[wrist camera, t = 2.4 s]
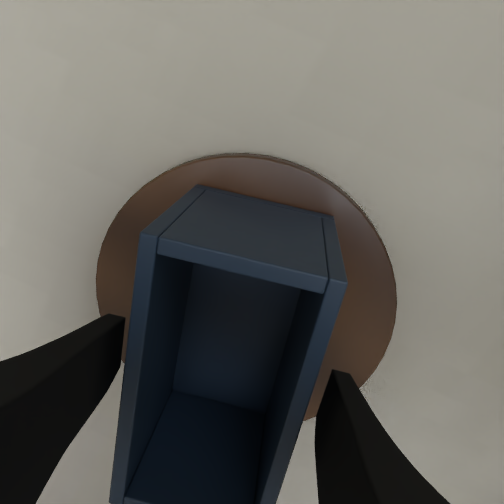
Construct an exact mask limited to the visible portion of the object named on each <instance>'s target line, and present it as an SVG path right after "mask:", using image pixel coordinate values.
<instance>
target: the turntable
mask: <svg viewBox="0 0 504 504" xmlns="http://www.w3.org/2000/svg"><path fill="white" fill-rule="evenodd" d="M196 184H199V185H203V186H208V187H212V188H216V189H220V190H224V191H229V192H233V193H237V194H241V195H246V196H250V197H254V198H258V199H263V200H267V201H271V202H275V203H280V204H284V205H288V206H292V207H297V208H301V209H305V210H309V211H313V212H318V213H322V214H326V215H330V216H334V220H335V225H336V230H337V234H338V239H339V243H340V248H341V253H342V257H343V262H344V267H345V271H346V276H347V280H348V286H347V289H346V292H345V295H344V298H343V301H342V304H341V307H340V310H339V313H338V316H337V319H336V322H335V325H334V328H333V331H332V334H331V337H330V340H329V343H328V346H327V350H326V353H325V356H324V359H323V362H322V365H321V368H320V371H319V374H318V377H317V380H316V383H315V386H314V389H313V392H312V395H311V398H310V401H309V404H308V407H307V410H306V413H305V416H304V419H303V421H305V420H308V419H310V418H313V417H315V416H316V415H317V412H318V409H319V406H320V403H321V400H322V397H323V394H324V391H325V388H326V386H327V383H328V380H329V377H330V374H331V371H332V369H334V370H338V371H342V372H346V373H350V374H351V376H352V378H353V379H354V381H355V383H356V384H357V386H358V388H360V387H361V386H362V385H363V384H364V383H365V382H366V381H367V379H368V378H369V377H370V376H371V375H372V373H373V372H374V371H375V369H376V368H377V366H378V364H379V363H380V361H381V359H382V358H383V356H384V354H385V351H386V349H387V347H388V344H389V342H390V340H391V336H392V332H393V328H394V324H395V318H396V308H397V295H396V283H395V278H394V273H393V268H392V265H391V262H390V259H389V256H388V254H387V251H386V248H385V246H384V244H383V242H382V240H381V238H380V237H379V235H378V233H377V231H376V229H375V227H374V226H373V224H372V223H371V221H370V220H369V219H368V217H367V216H366V215H365V213H364V212H363V211H362V209H361V208H360V207H359V206H358V205H357V204H356V203H355V202H354V201H353V200H352V199H351V198H350V197H349V196H348V195H347V194H346V193H345V192H344V191H342V190H341V189H340V188H338V187H337V186H336V185H334V184H333V183H332V182H331V181H329V180H328V179H326V178H324V177H322V176H321V175H319V174H317V173H315V172H314V171H312V170H310V169H308V168H305V167H303V166H300V165H298V164H295V163H293V162H290V161H287V160H283V159H279V158H275V157H271V156H266V155H257V154H249V153H233V154H220V155H213V156H207V157H202V158H199V159H196V160H192V161H189V162H186V163H183V164H181V165H179V166H177V167H174V168H172V169H170V170H168V171H166V172H164V173H162V174H161V175H159V176H158V177H156V178H155V179H153V180H152V181H150V182H149V183H147V184H145V185H144V186H143V187H142V188H141V189H140V190H139V191H137V192H136V193H135V194H134V195H133V196H132V197H131V198H130V199H129V200H128V201H127V202H126V204H125V205H124V206H123V207H122V208H121V210H120V211H119V212H118V214H117V215H116V217H115V219H114V220H113V222H112V223H111V225H110V227H109V229H108V231H107V234H106V236H105V238H104V241H103V243H102V246H101V250H100V254H99V258H98V264H97V274H96V292H97V301H98V306H99V312H100V316H101V317H102V316H104V315H106V314H108V313H110V314H114V315H118V316H122V317H126V320H125V329H124V338H123V348H122V357H121V360H122V361H123V362H124V364H125V357H126V348H127V339H128V330H129V322H130V313H131V304H132V295H133V286H134V278H135V269H136V260H137V251H138V243H139V234H140V232H141V231H142V230H143V229H145V228H146V227H147V226H148V225H149V224H151V223H152V222H153V221H154V220H155V219H156V218H158V217H159V216H160V215H161V214H162V213H163V212H165V211H166V210H167V209H168V208H169V207H171V206H172V205H173V204H174V203H175V202H176V201H178V200H179V199H180V198H181V197H182V196H183V195H185V194H186V193H187V192H188V191H189V190H191V189H192V188H193V187H194V186H195V185H196Z"/></svg>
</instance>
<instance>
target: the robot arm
mask: <svg viewBox="0 0 504 504" xmlns="http://www.w3.org/2000/svg"><path fill="white" fill-rule="evenodd" d="M125 320H126V317H122V316H118V315H114V314H110V313H108V314H106V315H104V316H102V317H100V318H98V319H96V320H94V321H92V322H90V323H89V324H87V325H85V326H83V327H81V328H79V329H77V330H75V331H73V332H71V333H69V334H67V335H65V336H63V337H61V338H58V339H56V340H54V341H52V342H49V343H47V344H45V345H43V346H40V347H38V348H36V349H34V350H31V351H29V352H26V353H23V354H21V355H18V356H15V357H12V358H9V359H6V360H3V361H0V504H36V502H37V500H38V498H39V496H40V495H41V493H42V491H43V489H44V487H45V485H46V484H47V482H48V480H49V478H50V476H51V475H52V473H53V471H54V469H55V468H56V466H57V464H58V462H59V461H60V459H61V457H62V456H63V454H64V453H65V451H66V449H67V448H68V446H69V445H70V443H71V442H72V441H73V439H74V438H75V436H76V435H77V434H78V432H79V431H80V429H81V428H82V426H83V425H84V424H85V422H86V421H87V419H88V418H89V417H90V415H91V414H92V412H93V411H94V410H95V408H96V407H97V405H98V404H99V402H100V401H101V400H102V398H103V397H104V395H105V394H106V392H107V391H108V389H109V387H110V385H111V383H112V382H113V380H114V378H115V376H116V374H117V372H118V370H119V368H120V366H121V357H122V348H123V338H124V329H125ZM315 458H316V473H317V487H318V500H319V504H450V503H449V502H448V501H447V500H446V499H445V498H444V497H443V496H442V495H440V494H439V493H438V492H437V491H436V490H435V488H434V487H433V486H432V485H431V484H430V483H429V482H428V481H427V480H426V479H425V478H424V477H423V476H422V475H421V474H420V473H419V472H418V471H417V470H416V469H415V467H414V466H413V465H412V464H411V463H410V462H409V460H408V459H407V458H406V457H405V456H404V454H403V453H402V452H401V451H400V450H399V448H398V447H397V446H396V444H395V443H394V442H393V440H392V439H391V438H390V436H389V435H388V434H387V432H386V431H385V429H384V428H383V426H382V425H381V424H380V422H379V421H378V419H377V418H376V416H375V414H374V413H373V411H372V410H371V408H370V406H369V405H368V403H367V401H366V400H365V398H364V396H363V395H362V393H361V391H360V390H359V388H358V386H357V384H356V383H355V381H354V379H353V378H352V376H351V374H350V373H346V372H342V371H338V370H334V369H332V371H331V374H330V377H329V380H328V383H327V386H326V388H325V391H324V394H323V397H322V400H321V403H320V406H319V409H318V412H317V415H316V426H315Z"/></svg>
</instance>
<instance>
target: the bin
mask: <svg viewBox="0 0 504 504" xmlns="http://www.w3.org/2000/svg"><path fill="white" fill-rule="evenodd" d="M347 286H348V280H347V276H346V271H345V267H344V262H343V257H342V253H341V248H340V243H339V239H338V234H337V230H336V225H335V220H334V216H330V215H326V214H322V213H318V212H313V211H309V210H305V209H301V208H297V207H292V206H288V205H284V204H280V203H275V202H271V201H267V200H263V199H258V198H254V197H250V196H246V195H241V194H237V193H233V192H229V191H224V190H220V189H216V188H212V187H208V186H203V185H199V184H196V185H195V186H194V187H193V188H192V189H191V190H189V191H188V192H187V193H186V194H185V195H183V196H182V197H181V198H180V199H179V200H178V201H176V202H175V203H174V204H173V205H172V206H171V207H169V208H168V209H167V210H166V211H165V212H163V213H162V214H161V215H160V216H159V217H158V218H156V219H155V220H154V221H153V222H152V223H151V224H149V225H148V226H147V227H146V228H145V229H143V230H142V231H141V232H140V234H139V243H138V251H137V260H136V269H135V278H134V286H133V295H132V304H131V313H130V322H129V330H128V339H127V348H126V357H125V365H124V374H123V383H122V392H121V401H120V409H119V418H118V427H117V436H116V444H115V453H114V462H113V471H112V479H111V488H110V497H109V503H111V504H276V501H277V498H278V495H279V492H280V489H281V486H282V483H283V480H284V477H285V474H286V471H287V468H288V465H289V462H290V459H291V456H292V453H293V450H294V447H295V444H296V441H297V438H298V435H299V432H300V428H301V425H302V422H303V419H304V416H305V413H306V410H307V407H308V404H309V401H310V398H311V395H312V392H313V389H314V386H315V383H316V380H317V377H318V374H319V371H320V368H321V365H322V362H323V359H324V356H325V353H326V350H327V346H328V343H329V340H330V337H331V334H332V331H333V328H334V325H335V322H336V319H337V316H338V313H339V310H340V307H341V304H342V301H343V298H344V295H345V292H346V289H347Z"/></svg>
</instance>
